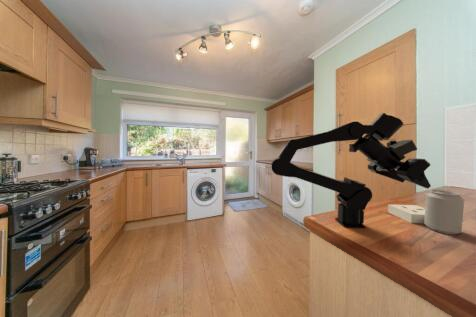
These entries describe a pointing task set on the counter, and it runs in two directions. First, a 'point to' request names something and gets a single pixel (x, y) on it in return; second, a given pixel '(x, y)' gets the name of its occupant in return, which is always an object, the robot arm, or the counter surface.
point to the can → (444, 211)
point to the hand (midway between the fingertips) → (415, 184)
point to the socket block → (408, 212)
